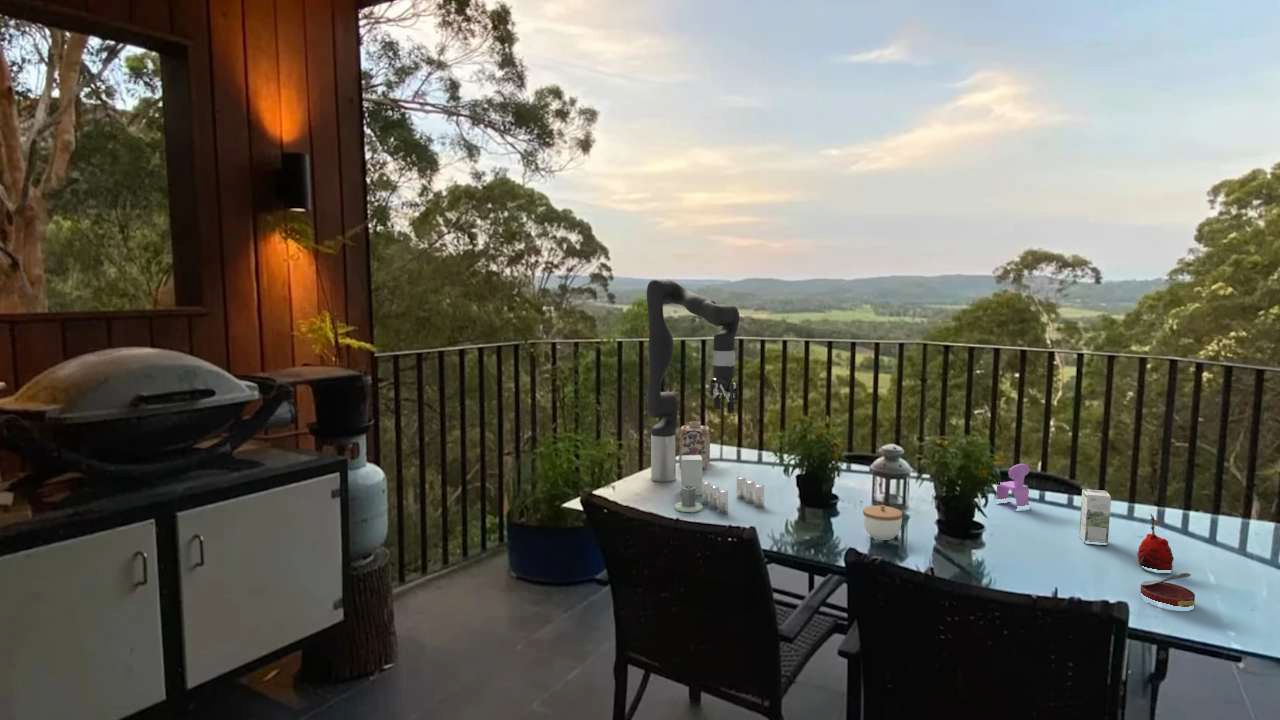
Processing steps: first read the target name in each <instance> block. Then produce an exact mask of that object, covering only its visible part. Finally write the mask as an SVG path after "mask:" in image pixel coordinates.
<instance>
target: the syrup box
mask: <svg viewBox="0 0 1280 720" xmlns="http://www.w3.org/2000/svg"><path fill="white" fill-rule="evenodd" d="M1080 504H1081V505H1080V507H1081V508H1080V521H1079V534H1080V536H1081V537H1082V538H1083V539H1084V541H1089V542H1099V543H1108V544H1109V533H1110V532H1109V531H1110V518H1111V505H1112V497H1111V495H1110V494H1109V493H1108V492H1107V491H1106V490H1096V489H1087V488H1086V489H1085V488H1082V491H1081V503H1080ZM1079 534H1078V535H1079Z"/></svg>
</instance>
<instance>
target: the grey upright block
mask: <svg viewBox="0 0 1280 720" xmlns="http://www.w3.org/2000/svg"><path fill="white" fill-rule="evenodd" d="M681 502H682V506H683V507H688V508H690V507H695V502H696V495H695V486H690V485H687V486H682V493H681Z"/></svg>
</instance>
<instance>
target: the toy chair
mask: <svg viewBox="0 0 1280 720" xmlns="http://www.w3.org/2000/svg"><path fill="white" fill-rule="evenodd" d="M1007 472H1008V478H1010V479H1011V480H1009V481H1003V482H1000V485H999V486H997V485H996V486H997V491H998V494H997V493H996V499H1004V498H1005V499H1006V498H1009V499H1010V496H1009V491H1011V492H1012V493H1013V495H1014V498H1015V503H1016V504H1015V507H1016V506H1025V505H1030V502H1029V493H1030V491H1029V486H1028V485H1027V484H1026V485H1025V484H1024V482H1025V477H1026V476H1027V475H1028V474H1029V473H1030V467H1029V465H1028V464H1026V463H1018V464H1015V465H1013V466H1011V467H1010V468H1009V470H1008V471H1007ZM997 491H996V492H997Z"/></svg>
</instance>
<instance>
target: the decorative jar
mask: <svg viewBox="0 0 1280 720" xmlns="http://www.w3.org/2000/svg"><path fill="white" fill-rule="evenodd" d="M710 433H711V429H710V427H709V426H707V425H703V424H702V425H701V421H689V422H688V424H685V425H682V426H681V427H680V432H679V435H678V437H679V451H678V452H679V458H678V460H679V468H680V469H681V456H684V455H701V457H702V468H704V469H703V470H707V468H708V469H709V466H710V459H711V456H710V455H711V439H710V438H711V434H710Z"/></svg>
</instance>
